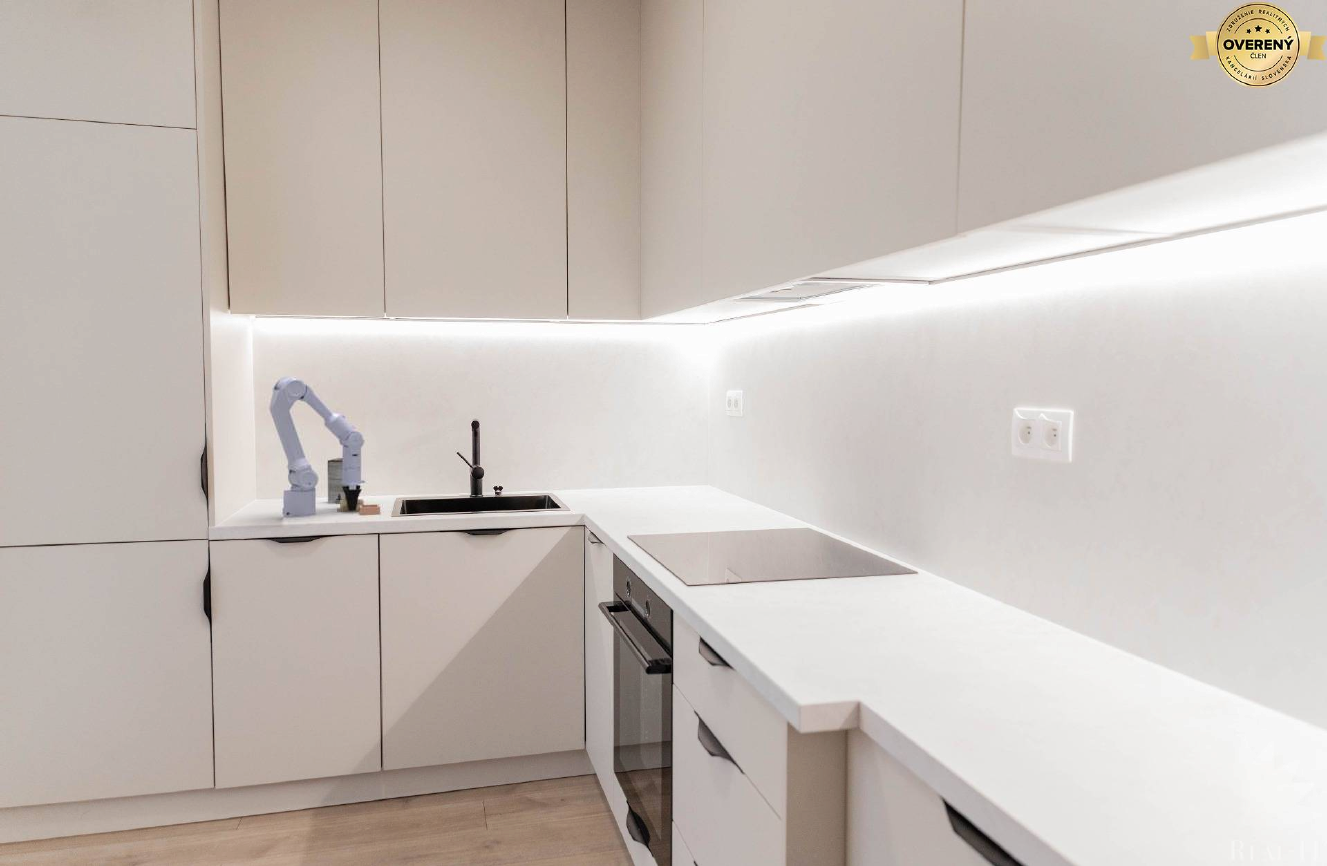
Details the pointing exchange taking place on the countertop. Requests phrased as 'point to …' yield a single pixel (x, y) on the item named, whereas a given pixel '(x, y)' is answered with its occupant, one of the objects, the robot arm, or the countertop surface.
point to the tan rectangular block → (345, 507)
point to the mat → (343, 511)
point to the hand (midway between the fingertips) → (351, 508)
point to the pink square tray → (369, 509)
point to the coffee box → (335, 481)
